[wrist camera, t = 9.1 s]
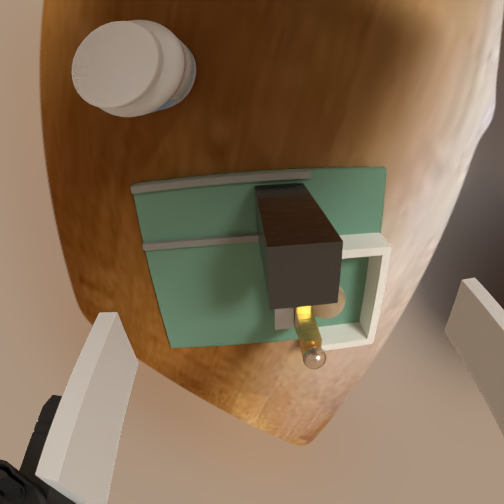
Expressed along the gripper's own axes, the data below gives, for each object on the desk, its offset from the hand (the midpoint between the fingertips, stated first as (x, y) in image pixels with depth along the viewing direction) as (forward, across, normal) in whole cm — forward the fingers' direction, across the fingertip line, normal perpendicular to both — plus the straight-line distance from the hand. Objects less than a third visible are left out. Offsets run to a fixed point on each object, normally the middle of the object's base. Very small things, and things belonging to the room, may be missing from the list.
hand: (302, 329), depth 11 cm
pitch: (+18, 0, -8) cm, 20 cm away
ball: (+15, +5, -11) cm, 20 cm away
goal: (+18, +7, -11) cm, 22 cm away
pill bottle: (+18, -8, +10) cm, 22 cm away
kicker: (+17, +1, -7) cm, 18 cm away
